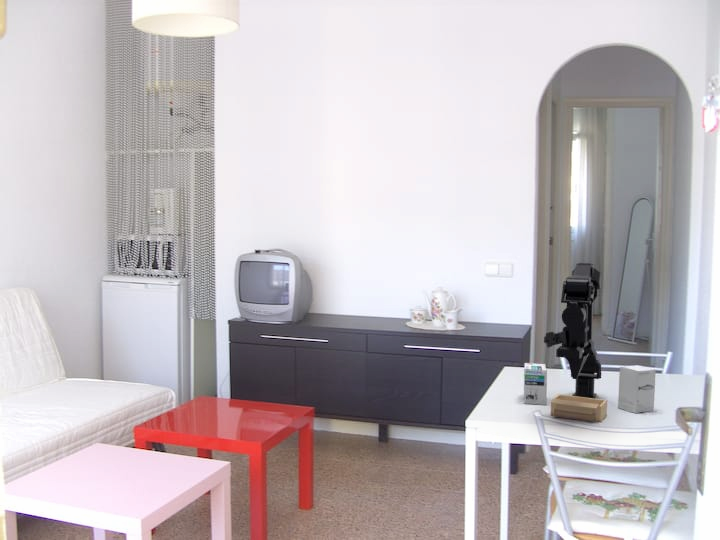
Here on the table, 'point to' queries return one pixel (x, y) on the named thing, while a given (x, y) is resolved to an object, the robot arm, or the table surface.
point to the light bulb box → (535, 383)
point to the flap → (574, 410)
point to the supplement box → (636, 388)
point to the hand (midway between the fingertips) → (574, 378)
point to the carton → (602, 404)
